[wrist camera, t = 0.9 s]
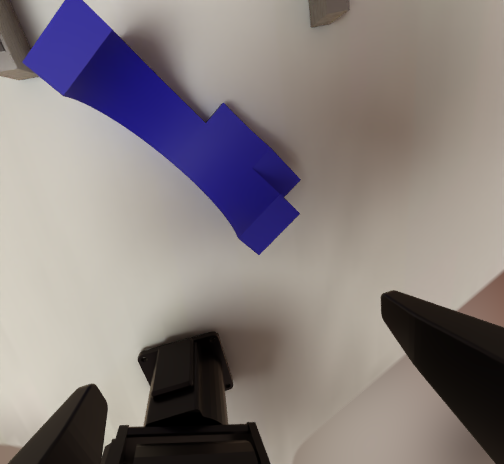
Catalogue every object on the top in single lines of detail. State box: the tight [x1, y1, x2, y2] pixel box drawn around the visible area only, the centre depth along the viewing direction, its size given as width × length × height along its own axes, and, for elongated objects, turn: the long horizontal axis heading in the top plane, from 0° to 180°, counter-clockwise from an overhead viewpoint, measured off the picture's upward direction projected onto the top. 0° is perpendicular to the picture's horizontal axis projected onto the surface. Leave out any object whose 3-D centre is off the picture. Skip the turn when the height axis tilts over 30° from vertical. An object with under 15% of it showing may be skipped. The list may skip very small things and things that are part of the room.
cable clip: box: [22, 0, 301, 255], centre depth 14 cm, size 12×4×6 cm, turn 46°
